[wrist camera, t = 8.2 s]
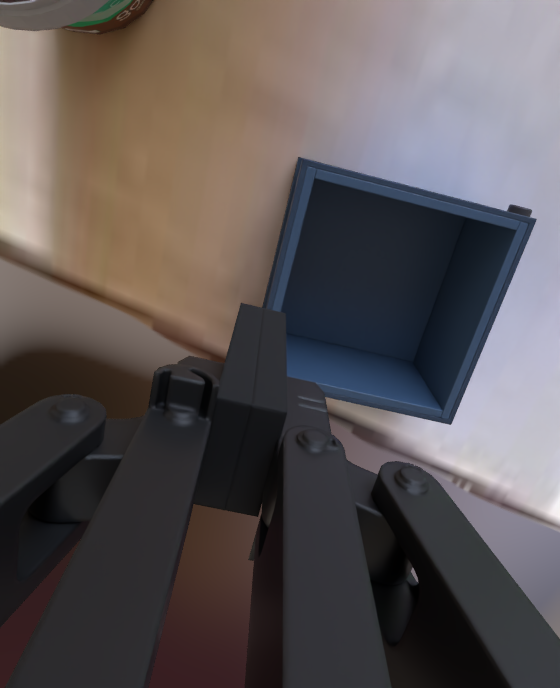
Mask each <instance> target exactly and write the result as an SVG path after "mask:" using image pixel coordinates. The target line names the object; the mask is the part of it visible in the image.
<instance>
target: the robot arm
mask: <svg viewBox="0 0 560 688" xmlns="http://www.w3.org/2000/svg"><path fill="white" fill-rule="evenodd" d="M193 504H197V505H202V506H207V507H212V508H217V509H222V510H227V511H232V512H237V513H242V514H247V515H252V516H257V517H258V515H259V511H260V508H261V504H262V514H261V517H260V521H259V524H258V528H257V531H256V535H255V538H254V542H253V546H252V549H251V553H250V556H249V560H252V561H253V560H254V569H253V582H252V595H251V610H250V623H249V636H248V637H249V638H248V649H247V663H246V676H245V688H560V639H559V637H558V636H557V635H556V634H555V632H554V631H553V630H552V628H551V627H550V626H549V624H548V623H547V622H546V621H545V619H544V618H543V617H542V615H541V614H540V613H539V612H538V610H537V609H536V608H535V606H534V605H533V604H532V603H531V601H530V600H529V599H528V597H527V596H526V595H525V593H524V592H523V591H522V590H521V588H520V587H519V586H518V584H517V583H516V582H515V580H514V579H513V578H512V577H511V575H510V574H509V573H508V572H507V570H506V569H505V568H504V566H503V565H502V564H501V562H500V561H499V560H498V559H497V557H496V556H495V555H494V553H493V552H492V551H491V549H490V548H489V547H488V545H487V544H486V543H485V542H484V540H483V539H482V538H481V537H480V535H479V534H478V533H477V531H476V530H475V529H474V527H473V526H472V525H471V523H470V522H469V521H468V520H467V518H466V517H465V516H464V514H463V513H462V512H461V511H460V509H459V508H458V507H457V505H456V504H455V503H454V502H453V500H452V499H451V498H450V497H449V495H448V494H447V493H446V491H445V490H444V488H443V487H442V486H441V485H440V483H439V482H438V481H437V480H436V479H434V477H432V475H430V474H429V473H427V472H426V471H424V470H423V469H422V468H420V467H418V466H414V465H413V464H410V463H403V462H397V461H395V462H387V463H385V464H384V465H382V466H381V468H380V471H379V473H378V475H377V474H375V473H373V472H370V471H368V470H365V469H363V468H361V467H359V466H357V465H354V464H352V463H351V462H349V461H348V460H346V455H345V450H344V447H343V445H342V444H341V442H340V441H339V440H338V439H337V438H336V437H335V436H334V435H332V434H331V429H330V424H329V417H328V412H327V405H326V399H325V393H324V392H323V390H322V389H321V388H320V387H319V386H318V385H317V383H316V382H312V381H307V380H303V379H298V378H294V377H289V376H287V353H286V313H282V312H278V311H274V310H270V309H265V308H261V307H257V306H252V305H248V304H244V303H241V305H240V308H239V312H238V316H237V319H236V323H235V327H234V330H233V334H232V338H231V341H230V345H229V349H228V352H227V356H226V360H225V363H220V362H216V361H211V360H207V359H202V358H198V357H193V356H188V357H186V358H184V359H183V360H181V361H179V362H178V364H174V365H173V364H172V365H166V366H163V367H159V368H158V369H157V370H156V371H155V372H154V376H153V382H152V389H151V395H150V401H149V408H148V409H147V411H146V413H145V415H144V416H141V417H136V418H131V419H106V409H105V408H104V407H103V405H102V404H101V403H99V402H97V401H95V400H94V399H92V398H89V397H84V396H81V395H75V394H73V395H71V394H63V395H57V396H51V397H48V398H46V399H43V400H41V401H39V402H37V403H36V404H34V405H32V406H31V407H29V408H28V409H26V410H24V411H22V412H21V413H19V414H17V415H16V416H14V417H12V418H11V419H9V420H7V421H6V422H4V423H2V424H1V425H0V627H1V626H2V625H3V624H4V623H5V622H6V621H7V620H8V618H9V617H10V616H11V615H12V614H13V613H14V612H15V611H16V609H18V607H19V606H20V605H21V604H22V603H23V602H24V601H25V600H26V599H27V597H28V596H29V595H30V594H31V593H32V592H33V591H34V590H35V589H36V588H37V586H38V585H39V584H40V583H41V582H42V581H43V580H44V579H45V578H46V577H47V575H48V574H49V573H50V572H51V571H52V570H53V569H54V568H55V567H56V565H57V564H58V563H59V562H60V561H61V560H62V559H63V558H64V557H65V556H66V555H67V553H68V552H69V551H70V550H71V549H72V548H73V547H74V546H75V545H76V543H77V542H78V541H79V540H80V539H81V540H80V542H79V544H78V546H77V548H76V550H75V552H74V554H73V556H72V558H71V560H70V562H69V564H68V565H67V568H66V569H65V571H64V573H63V575H62V577H61V579H60V581H59V583H58V585H57V587H56V589H55V591H54V593H53V595H52V597H51V599H50V601H49V602H48V604H47V606H46V608H45V610H44V613H43V614H42V616H41V618H40V620H39V622H38V624H37V626H36V628H35V630H34V632H33V634H32V636H31V638H30V640H29V642H28V643H27V645H26V647H25V649H24V651H23V653H22V655H21V657H20V659H19V661H18V663H17V665H16V667H15V669H14V671H13V673H12V675H11V677H10V679H9V681H8V683H7V685H6V687H5V688H148V687H149V683H150V679H151V675H152V671H153V667H154V663H155V659H156V655H157V651H158V647H159V643H160V639H161V635H162V630H163V626H164V623H165V618H166V614H167V610H168V606H169V602H170V598H171V594H172V590H173V586H174V581H175V578H176V574H177V570H178V566H179V561H180V557H181V553H182V550H183V545H184V541H185V537H186V533H187V529H188V525H189V521H190V517H191V512H192V508H193ZM412 567H413V568H414V570H415V572H416V575H417V577H418V582H419V583H418V582H417V581H416V580H415V578H414V577H413V575H412V573H411V569H412Z"/></svg>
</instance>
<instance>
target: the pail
mask: <svg viewBox="0 0 560 688" xmlns="http://www.w3.org/2000/svg"><path fill="white" fill-rule="evenodd" d="M531 213H532V210H531V209H527V208H524V207H520V206H516V205H510V206H509V208H508V210H507V211H504V210H500V209H496V208H492V207H488V206H484V205H481V204H477V203H473V202H469V201H465V200H461V199H458V198H454V197H450V196H446V195H442V194H438V193H435V192H431V191H427V190H423V189H419V188H415V187H411V186H408V185H404V184H400V183H396V182H392V181H388V180H385V179H381V178H377V177H373V176H369V175H365V174H362V173H358V172H354V171H350V170H346V169H342V168H339V167H335V166H331V165H327V164H323V163H319V162H315V161H312V160H308V159H304V158H300V157H298V161H297V165H296V169H295V173H294V178H293V182H292V186H291V190H290V194H289V198H288V203H287V207H286V211H285V215H284V219H283V223H282V228H281V232H280V236H279V240H278V244H277V248H276V253H275V257H274V261H273V265H272V269H271V273H270V278H269V282H268V286H267V290H266V294H265V298H264V303H263V307H262V308H265V309H270V310H274V311H278V312H282V313H286V353H287V376H289V377H294V378H298V379H303V380H307V381H312V382H316V383H317V385H318V386H319V387H320V388H321V389H322V390H323V392H324V393H325V397H328V398H333V399H337V400H342V401H346V402H351V403H355V404H360V405H364V406H369V407H373V408H378V409H382V410H387V411H391V412H396V413H400V414H405V415H409V416H414V417H418V418H423V419H427V420H432V421H436V422H441V423H445V424H450V425H451V424H452V421H453V419H454V417H455V414H456V412H457V409H458V407H459V405H460V402H461V400H462V397H463V395H464V393H465V390H466V388H467V385H468V383H469V381H470V378H471V376H472V373H473V371H474V369H475V366H476V364H477V361H478V359H479V357H480V354H481V352H482V349H483V347H484V345H485V342H486V340H487V337H488V335H489V333H490V330H491V328H492V325H493V323H494V321H495V318H496V316H497V313H498V311H499V309H500V306H501V304H502V301H503V299H504V297H505V294H506V292H507V289H508V287H509V285H510V282H511V280H512V277H513V275H514V273H515V270H516V268H517V265H518V263H519V261H520V258H521V256H522V254H523V251H524V249H525V246H526V244H527V242H528V239H529V237H530V234H531V232H532V230H533V227H534V225H535V222H536V220H537V219H534V218H531V217H530V215H531Z"/></svg>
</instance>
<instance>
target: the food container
mask: <svg viewBox="0 0 560 688" xmlns="http://www.w3.org/2000/svg"><path fill="white" fill-rule="evenodd" d="M152 1H153V0H0V26H2V27H6V28H10V29H15V30H28V31H40V30H50V29H57V28H60V27H61V28H64V29H67V30H71V31H74V32H83V33H92V34H103V33H107V32H111V31H115V30H119V29H123V28H125V27H126V26H128V25H129V24H130V23H132V22H133V21H134V20H136V19H137V18H139V17H140V16H141V15H143V14H144V13H145V11H146V10H147V9H148V7H149V6H150V4H151V3H152Z"/></svg>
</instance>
